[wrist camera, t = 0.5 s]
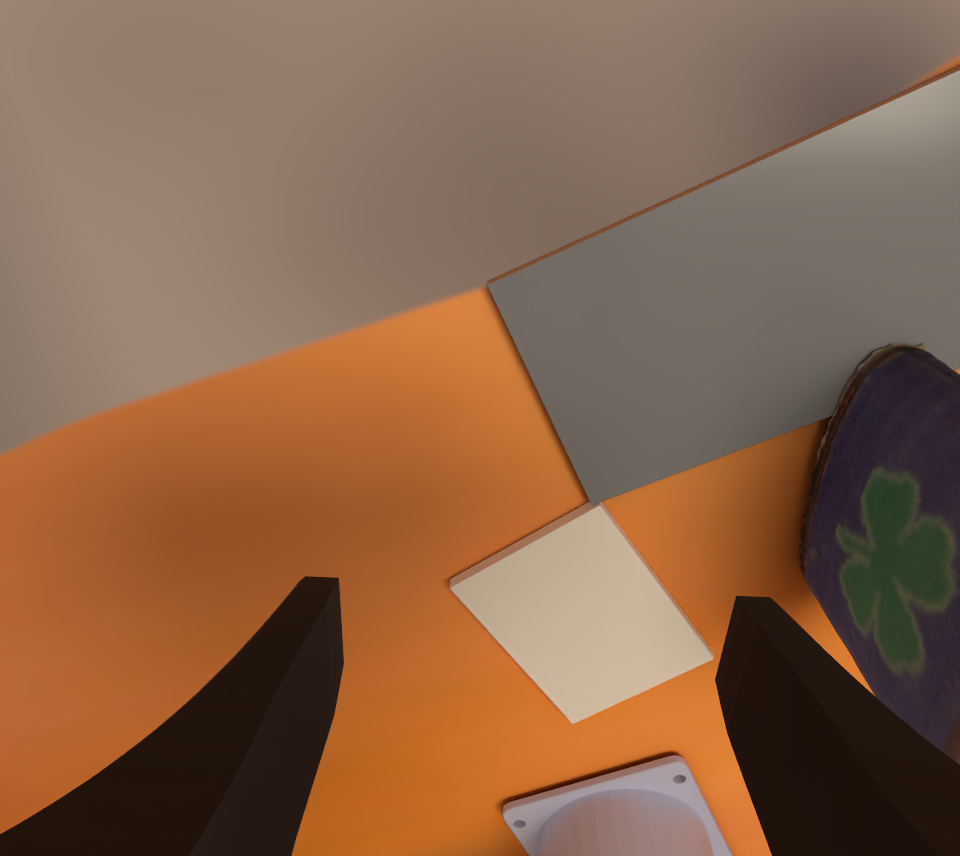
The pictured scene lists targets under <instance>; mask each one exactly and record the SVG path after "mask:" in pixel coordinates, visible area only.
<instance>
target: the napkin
mask: <svg viewBox="0 0 960 856" xmlns="http://www.w3.org/2000/svg"><path fill="white" fill-rule="evenodd" d="M450 589H451V590H452V591H453V593H454V594H455V595H456V596H457V597H458V598H459V599H460V600H461V601H462V602H463V604H464V605H465V606H466V607H467V608H468V609H469V610H470V611H471V612H472V613H473V615H474V616H475V617H476V618H477V619H478V620H479V621H480V622H481V623H482V625H483V626H484V627H485V628H486V629H487V630H488V631H489V632H490V633H491V634H492V636H493V637H494V638H495V639H496V640H497V641H498V642H499V643H500V644H501V645H502V647H503V648H504V649H505V650H506V651H507V652H508V653H509V654H510V655H511V656H512V658H513V659H514V660H515V661H516V662H517V663H518V664H519V665H520V666H521V668H522V669H523V670H524V671H525V672H526V673H527V674H528V675H529V676H530V677H531V679H532V680H533V681H534V682H535V683H536V684H537V685H538V686H539V687H540V688H541V690H542V691H543V692H544V693H545V694H546V695H547V696H548V697H549V698H550V699H551V701H552V702H553V703H554V704H555V705H556V706H557V707H558V708H559V709H560V710H561V712H562V713H563V714H564V715H565V716H566V717H567V718H568V719H569V720H570V722H571V723H572V724H574V723H576V722H578V721H580V720H583V719H585V718H587V717H589V716H591V715H593V714H596V713H598V712H600V711H602V710H604V709H606V708H609V707H611V706H613V705H615V704H617V703H619V702H622V701H624V700H626V699H628V698H630V697H632V696H635V695H637V694H639V693H641V692H643V691H645V690H648V689H650V688H652V687H654V686H656V685H659V684H661V683H663V682H665V681H667V680H669V679H672V678H674V677H676V676H678V675H680V674H682V673H685V672H687V671H689V670H691V669H693V668H695V667H698V666H700V665H702V664H704V663H706V662H708V661H711V660H713V659H714V656H713V654H712V651H711V648H710V647H709V646H708V644H707V643H706V642H705V640H704V639H703V638H702V636H701V635H700V634H699V632H698V631H697V630H696V628H695V627H694V625H693V624H692V623H691V621H690V620H689V619H688V617H687V616H686V615H685V613H684V612H683V611H682V609H681V608H680V607H679V605H678V604H677V603H676V601H675V600H674V598H673V597H672V596H671V594H670V593H669V592H668V590H667V589H666V588H665V586H664V585H663V584H662V582H661V581H660V580H659V578H658V577H657V576H656V574H655V573H654V571H653V570H652V569H651V567H650V566H649V565H648V563H647V562H646V561H645V559H644V558H643V557H642V555H641V554H640V553H639V551H638V550H637V549H636V547H635V546H634V544H633V543H632V542H631V540H630V539H629V538H628V536H627V535H626V534H625V532H624V531H623V530H622V528H621V527H620V526H619V524H618V523H617V522H616V520H615V519H614V518H613V516H612V515H611V513H610V512H609V511H608V509H607V508H606V507H605V505H604V504H603V503H602V502H599V503H597V504H594V505H591V503H590V502H588V503H586V504H584V505H582V506H581V507H579V508H577V509H575V510H573V511H572V512H570V513H568V514H566V515H564V516H563V517H561V518H559V519H557V520H555V521H554V522H552V523H550V524H548V525H546V526H545V527H543V528H541V529H539V530H537V531H536V532H534V533H532V534H530V535H528V536H527V537H525V538H523V539H521V540H519V541H518V542H516V543H514V544H512V545H510V546H509V547H507V548H505V549H503V550H501V551H500V552H498V553H496V554H494V555H492V556H491V557H489V558H487V559H485V560H483V561H482V562H480V563H478V564H476V565H474V566H473V567H471V568H469V569H467V570H465V571H464V572H462V573H460V574H458V575H457V576H455V577H453V578H451V579H450Z"/></svg>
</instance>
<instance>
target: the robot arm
mask: <svg viewBox="0 0 960 856" xmlns="http://www.w3.org/2000/svg"><path fill="white" fill-rule="evenodd" d="M343 665H344V657H343V640H342V623H341V607H340V590H339V578H329V577H307V576H305V577H304V578H303V579H302V580H300V581H299V583H298V584H297V585H296V586H295V587H294V589H293V590H292V591H291V592H290V594H289V595H288V596H287V597H286V599H285V600H284V601H283V602H282V603H281V605H280V606H279V607H278V608H277V609H276V611H275V612H274V613H273V614H272V615H271V616H270V618H269V619H268V620H267V621H266V622H265V623H264V624H263V626H262V627H261V628H260V629H259V630H258V631H257V632H256V633H255V635H254V636H253V637H252V638H251V639H250V640H249V641H248V642H247V643H246V644H245V645H244V647H243V648H242V649H241V650H240V651H239V652H238V653H237V654H236V655H235V656H234V657H233V658H232V659H231V660H230V661H229V662H228V663H227V664H226V665H225V666H224V667H223V668H222V669H221V670H220V671H219V672H218V673H217V674H216V675H215V676H214V677H213V678H212V679H211V680H210V681H209V682H208V683H207V684H206V685H205V686H204V687H203V688H202V689H201V690H200V691H199V692H198V693H197V694H196V695H195V696H194V697H192V698H191V699H190V700H189V701H188V702H187V703H186V704H185V705H184V706H183V707H181V708H180V709H179V710H178V711H177V712H176V713H175V714H173V715H172V716H171V717H170V718H169V719H168V720H166V721H165V722H164V723H163V724H162V725H160V726H159V727H158V728H157V729H156V730H154V731H153V732H152V733H151V734H150V735H148V736H147V737H146V738H144V739H143V740H142V741H141V742H139V743H138V744H137V745H135V746H134V747H133V748H131V749H130V750H129V751H127V752H126V753H125V754H124V755H122V756H121V757H120V758H118V759H117V760H115V761H114V762H113V763H111V764H110V765H109V766H107V767H106V768H105V769H103V770H102V771H100V772H99V773H98V774H96V775H95V776H93V777H92V778H91V779H89V780H88V781H86V782H85V783H83V784H82V785H80V786H78V787H77V788H75V789H74V790H72V791H71V792H69V793H68V794H66V795H65V796H63V797H62V798H60V799H59V800H57V801H55V802H54V803H52V804H51V805H49V806H47V807H46V808H44V809H42V810H41V811H39V812H38V813H36V814H34V815H33V816H31V817H29V818H28V819H26V820H24V821H23V822H21V823H19V824H18V825H16V826H14V827H13V828H11V829H9V830H7V831H5V832H3V833H2V834H0V856H291V855H292V852H293V848H294V844H295V840H296V837H297V833H298V830H299V827H300V824H301V821H302V817H303V814H304V811H305V808H306V805H307V801H308V798H309V795H310V792H311V789H312V785H313V782H314V779H315V776H316V773H317V769H318V766H319V763H320V760H321V757H322V753H323V750H324V747H325V744H326V740H327V737H328V734H329V731H330V727H331V724H332V721H333V717H334V713H335V708H336V703H337V697H338V692H339V687H340V681H341V676H342V670H343ZM715 681H716V686H717V690H718V695H719V700H720V704H721V709H722V713H723V717H724V721H725V725H726V730H727V734H728V737H729V739H730V742H731V745H732V748H733V751H734V753H735V756H736V759H737V762H738V765H739V767H740V770H741V773H742V776H743V778H744V781H745V784H746V786H747V789H748V792H749V794H750V797H751V800H752V803H753V805H754V808H755V811H756V813H757V816H758V819H759V821H760V824H761V827H762V830H763V832H764V835H765V838H766V840H767V843H768V846H769V848H770V851H771V854H772V856H960V765H959V764H958V763H957V762H955V761H954V760H953V759H951V758H950V757H949V756H947V755H946V754H945V753H943V752H942V751H941V750H939V749H938V748H937V747H935V746H934V745H933V744H931V743H930V742H929V741H928V740H926V739H925V738H924V737H923V736H921V735H920V734H919V733H918V732H916V731H915V730H914V729H913V728H911V727H910V726H909V725H908V724H907V723H905V722H904V721H903V720H902V719H901V718H900V717H898V716H897V715H896V714H895V713H894V712H892V711H891V710H890V709H889V708H888V707H887V706H885V705H884V704H883V703H882V702H881V701H880V700H878V699H877V698H876V697H875V696H874V695H873V694H872V693H871V692H869V691H868V690H867V689H866V688H865V687H864V686H863V685H862V684H860V683H859V682H858V681H857V680H856V679H855V678H854V677H853V676H852V675H851V674H850V673H849V672H847V671H846V670H845V669H844V668H843V667H842V666H841V665H840V664H839V663H838V662H837V661H836V660H835V659H834V658H833V657H832V656H831V655H829V654H828V653H827V652H826V651H825V650H824V649H823V648H822V647H821V646H820V645H819V644H818V643H817V642H816V641H815V640H814V639H813V638H812V637H811V636H810V635H809V634H808V633H807V632H806V631H805V630H804V629H803V628H802V627H801V626H800V625H799V624H798V623H797V622H795V621H794V620H793V619H792V618H791V617H790V616H789V615H788V614H787V613H786V612H785V611H784V610H783V609H782V608H781V607H780V606H779V605H778V604H777V603H776V602H775V601H773V600H772V599H771V598H770V597H749V596H736V599H735V603H734V607H733V611H732V615H731V619H730V623H729V627H728V631H727V635H726V639H725V643H724V647H723V651H722V655H721V659H720V663H719V666H718V670H717V674H716V678H715ZM503 819H504V820H505V822H506V823H507V825H508V826H509V827H510V829H511V830H512V832H513V833H514V835H515V836H516V838H517V839H518V840H519V842H520V843H521V845H522V846H523V848H524V849H525V850H526V852H527V853H528V855H529V856H733V854H732V852H731V850H730V848H729V846H728V844H727V842H726V840H725V838H724V836H723V834H722V832H721V830H720V828H719V826H718V824H717V822H716V820H715V818H714V816H713V814H712V812H711V810H710V808H709V806H708V804H707V802H706V800H705V798H704V796H703V794H702V792H701V790H700V788H699V786H698V784H697V782H696V780H695V778H694V776H693V774H692V772H691V770H690V768H689V766H688V764H687V762H686V760H685V759H684V758H683V757H680V756H676V755H673V756H668V757H664V758H661V759H657V760H654V761H650V762H647V763H643V764H640V765H637V766H633V767H630V768H626V769H623V770H619V771H616V772H612V773H609V774H605V775H602V776H598V777H595V778H591V779H588V780H584V781H581V782H577V783H574V784H571V785H567V786H564V787H560V788H557V789H553V790H550V791H546V792H543V793H539V794H536V795H532V796H529V797H525V798H522V799H518V800H515V801H511V802H509V803H507V804H505V805H504V806H503Z"/></svg>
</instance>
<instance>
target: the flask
mask: <svg viewBox="0 0 960 856" xmlns="http://www.w3.org/2000/svg"><path fill="white" fill-rule="evenodd" d="M827 428H828V431H826V434H825V436H824V437H823V438H822V440H821V442H822V444H821V445H820V446H819V449H818V451H817V453H818V456H817V461H816V464H815V465H814V467H813V472H812V478H813V481H812V485H811V488H810V492H809V494H808V500H807V503H808V504H807V505H806V509H805V510H806V513H805V514H804V518H805V521H804V525H803V529H802V528H801V531H802V534H801V542H800V543H801V544H800V546H799V549H800V551H799V552H798V553H800V561H801V570H802V572H803V575H804V577H805V580H806V582H807V584H808V586H809V588H810V590H811V591H812V593H813V594H814V596H815V597H816V598H817V600H818V601H819V603H820V605H821V607H822V609H823V611H824V612H825V614H826V616H827V617H828V619H829V621H830V622H831V624H832V626H833V627H834V629H835V631H836V632H837V634H838V635H839V637H840V638H841V640H842V641H843V643H844V645H845V646H846V648H847V649H848V651H849V652H850V654H851V656H852V657H853V659H854V661H855V663H856V665H857V666H858V668H859V670H860V672H861V673H862V675H863V677H864V678H865V680H866V682H867V683H868V685H869V687H870V688H871V690H872V692H873V694H874V695H875V697H876V698H877V699H878V700H880V701H881V702H882V703H883V704H884V705H885V706H887V707H888V708H889V709H890V710H891V711H892V712H894V713H895V714H896V715H897V716H898V717H900V718H901V719H902V720H903V721H904V722H905V723H907V724H908V725H909V726H910V727H911V728H913V729H914V730H915V731H916V732H918V733H919V734H920V735H921V736H923V737H924V738H925V739H926V740H928V741H929V742H930V743H931V744H933V745H934V746H935V747H937V748H938V749H939V750H941V751H942V752H943V753H945V754H946V755H947V756H949V757H950V758H951V759H953V760H954V761H955V762H957V763H958V764H959V765H960V374H958V373H957V372H955V371H954V370H952V369H951V368H950V367H949V366H948V365H946V364H945V363H944V362H942V361H940V360H939V359H937V358H936V357H935V356H934V355H932V354H931V353H929V352H927V351H926V348H925V344H922V345H920V346H911V345H908V344H905V345H903V344H893V345H890V346H888V347H886V348H883V349H880V350H876V351H875V352H873V354H872V356H871V357H869V358H868V359H867V360H866V361H865V362H864V363H862V364H861V365H860V366H859V367H858V370H857V373H856V374H855V375H854V377H853V378H852V379H851V380H850V381H849V383H848V385H847V386H846V388H845V390H844V391H843V396H842V397H841V398H840V401H839V404H838V406H837V409H836V410H835V413H834V414H833V415H832V419H830V421H829V423H828V426H827Z"/></svg>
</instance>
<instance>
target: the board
mask: <svg viewBox="0 0 960 856" xmlns="http://www.w3.org/2000/svg"><path fill="white" fill-rule="evenodd" d="M487 286H488V288H489V290H490V292H491V294H492V296H493V298H494V300H495V302H496V305H497V307H498V309H499V311H500V313H501V315H502V317H503V319H504V321H505V324H506V326H507V328H508V330H509V332H510V334H511V336H512V338H513V340H514V343H515V345H516V347H517V349H518V351H519V353H520V355H521V357H522V359H523V362H524V364H525V366H526V368H527V370H528V372H529V374H530V376H531V378H532V381H533V383H534V385H535V387H536V389H537V391H538V393H539V395H540V397H541V400H542V402H543V404H544V406H545V408H546V410H547V412H548V414H549V416H550V418H551V421H552V423H553V425H554V427H555V429H556V431H557V433H558V435H559V437H560V440H561V442H562V444H563V446H564V448H565V450H566V452H567V454H568V456H569V459H570V461H571V463H572V465H573V467H574V469H575V471H576V473H577V475H578V478H579V480H580V482H581V484H582V486H583V488H584V490H585V492H586V494H587V497H588V499H589V501H590V503H591V505H594V504H597V503H599V502H602V501H605V500H607V499H610V498H613V497H615V496H618V495H621V494H623V493H626V492H629V491H631V490H634V489H637V488H640V487H642V486H645V485H648V484H650V483H653V482H656V481H658V480H661V479H664V478H666V477H669V476H672V475H674V474H677V473H680V472H683V471H685V470H688V469H691V468H693V467H696V466H699V465H701V464H704V463H707V462H709V461H712V460H715V459H717V458H720V457H723V456H726V455H728V454H731V453H734V452H736V451H739V450H742V449H744V448H747V447H750V446H752V445H755V444H758V443H760V442H763V441H766V440H769V439H771V438H774V437H777V436H779V435H782V434H785V433H787V432H790V431H793V430H795V429H798V428H801V427H803V426H806V425H809V424H812V423H814V422H817V421H820V420H822V419H825V418H828V417H830V416H832V415H833V414H834V413H835V410H836V409H837V406H838V404H839V401H840V398H841V397H842V396H843V391H844V390H845V388H846V386H847V385H848V383H849V381H850V380H851V379H852V378H853V377H854V375H855V374H856V373H857V370H858V367H859V366H860V365H861V364H862V363H864V362H865V361H866V360H867V359H868V358H869V357H871V356H872V354H873V352H875V351H876V350H880V349H883V348H886V347H888V346H890V345H893V344H903V345H905V344H908V345H911V346H920V345H922V344H925V348H926V351H927V352H929V353H931V354H932V355H934V356H935V357H936V358H937V359H939V360H940V361H942V362H944V363H945V364H946V365H948V366H949V367H950V368H951V369H952V370H957V369H959V368H960V66H958V67H956V68H954V69H952V70H949V71H947V72H945V73H943V74H941V75H938V76H936V77H934V78H932V79H930V80H927V81H925V82H923V83H921V84H919V85H916V86H914V87H912V88H910V89H908V90H905V91H903V92H901V93H899V94H897V95H894V96H892V97H890V98H888V99H886V100H884V101H881V102H879V103H877V104H875V105H873V106H870V107H868V108H866V109H864V110H862V111H859V112H857V113H855V114H853V115H851V116H849V117H846V118H844V119H842V120H840V121H837V122H835V123H833V124H831V125H829V126H827V127H824V128H822V129H820V130H818V131H816V132H814V133H811V134H809V135H807V136H805V137H802V138H800V139H798V140H796V141H794V142H791V143H789V144H787V145H785V146H783V147H780V148H778V149H776V150H774V151H772V152H769V153H767V154H765V155H763V156H761V157H758V158H756V159H754V160H752V161H750V162H748V163H745V164H743V165H741V166H739V167H737V168H734V169H732V170H730V171H728V172H726V173H723V174H721V175H719V176H717V177H715V178H713V179H710V180H708V181H706V182H704V183H701V184H699V185H697V186H695V187H693V188H691V189H688V190H686V191H684V192H682V193H680V194H678V195H675V196H673V197H671V198H669V199H666V200H664V201H662V202H660V203H658V204H655V205H653V206H651V207H649V208H647V209H645V210H642V211H640V212H638V213H636V214H633V215H631V216H629V217H627V218H625V219H623V220H620V221H618V222H616V223H614V224H612V225H610V226H608V227H605V228H603V229H601V230H598V231H596V232H594V233H592V234H590V235H587V236H585V237H583V238H581V239H579V240H576V241H574V242H572V243H570V244H568V245H565V246H563V247H561V248H559V249H557V250H555V251H553V252H550V253H548V254H546V255H544V256H541V257H539V258H537V259H535V260H533V261H530V262H528V263H526V264H524V265H522V266H520V267H517V268H515V269H513V270H511V271H508V272H506V273H504V274H502V275H500V276H498V277H495V278H493V279H491V280H489V281H487Z"/></svg>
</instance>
